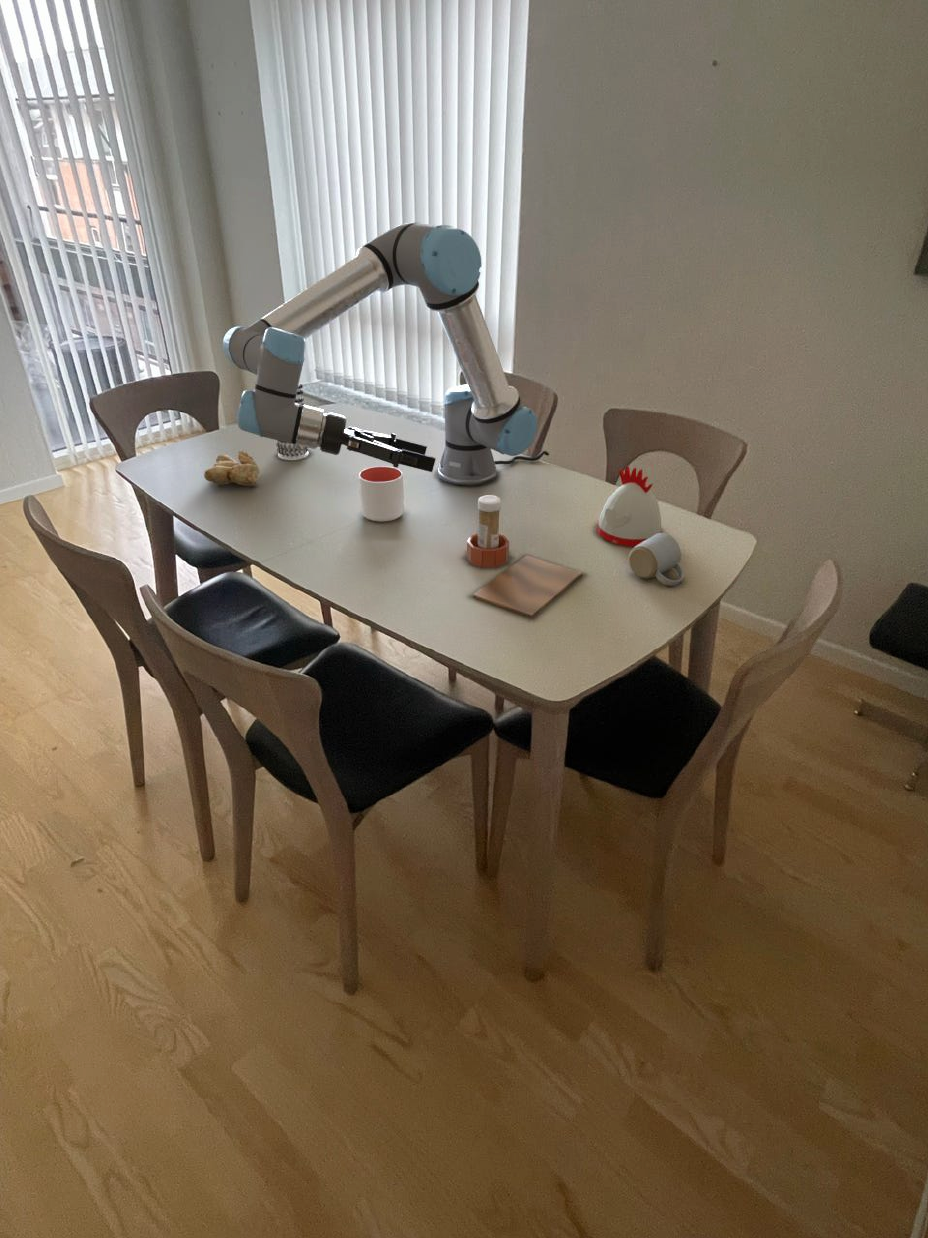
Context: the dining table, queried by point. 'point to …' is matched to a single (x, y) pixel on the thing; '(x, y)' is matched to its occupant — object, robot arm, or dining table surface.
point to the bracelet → (487, 553)
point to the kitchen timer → (630, 512)
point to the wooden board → (528, 586)
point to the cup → (381, 493)
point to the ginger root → (233, 470)
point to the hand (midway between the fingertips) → (429, 458)
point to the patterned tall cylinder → (293, 450)
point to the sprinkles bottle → (488, 522)
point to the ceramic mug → (657, 558)
